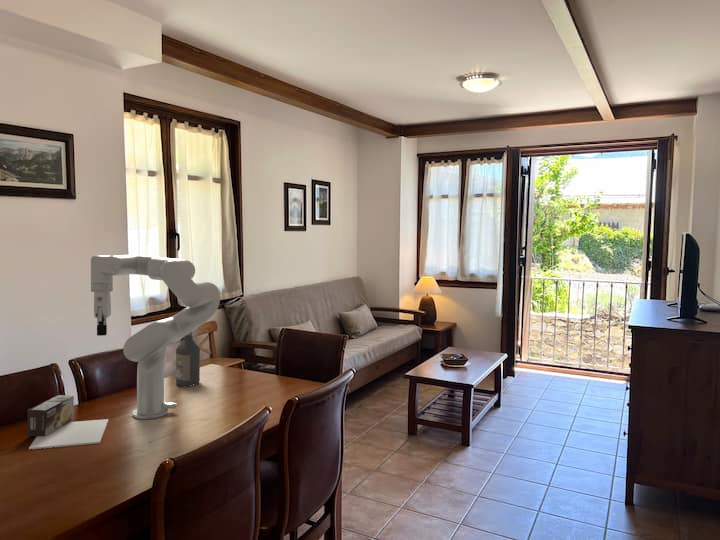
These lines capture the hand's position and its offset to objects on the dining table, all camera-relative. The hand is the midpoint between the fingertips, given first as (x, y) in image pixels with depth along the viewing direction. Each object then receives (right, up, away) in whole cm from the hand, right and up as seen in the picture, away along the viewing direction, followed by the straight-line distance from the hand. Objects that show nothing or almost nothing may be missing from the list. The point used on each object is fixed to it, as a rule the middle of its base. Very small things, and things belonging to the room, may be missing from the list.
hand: (101, 335), depth 201 cm
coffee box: (-7, -25, -12) cm, 28 cm away
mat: (+2, -31, -24) cm, 39 cm away
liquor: (+20, -28, +40) cm, 53 cm away
